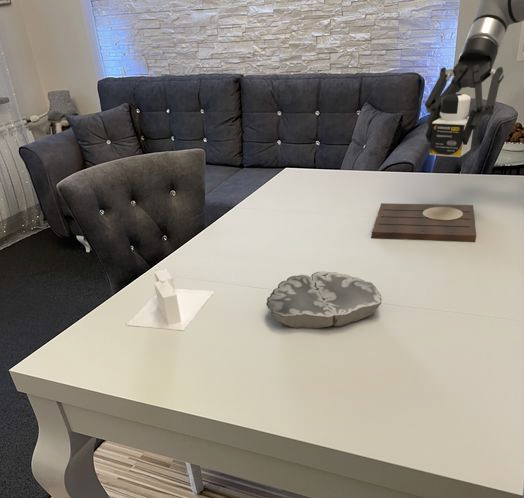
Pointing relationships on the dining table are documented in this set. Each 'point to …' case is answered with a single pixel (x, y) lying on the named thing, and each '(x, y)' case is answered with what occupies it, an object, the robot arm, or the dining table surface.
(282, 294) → the brain slice
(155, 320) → the napkin holder
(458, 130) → the medicine bottle
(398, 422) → the dining table surface
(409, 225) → the board
